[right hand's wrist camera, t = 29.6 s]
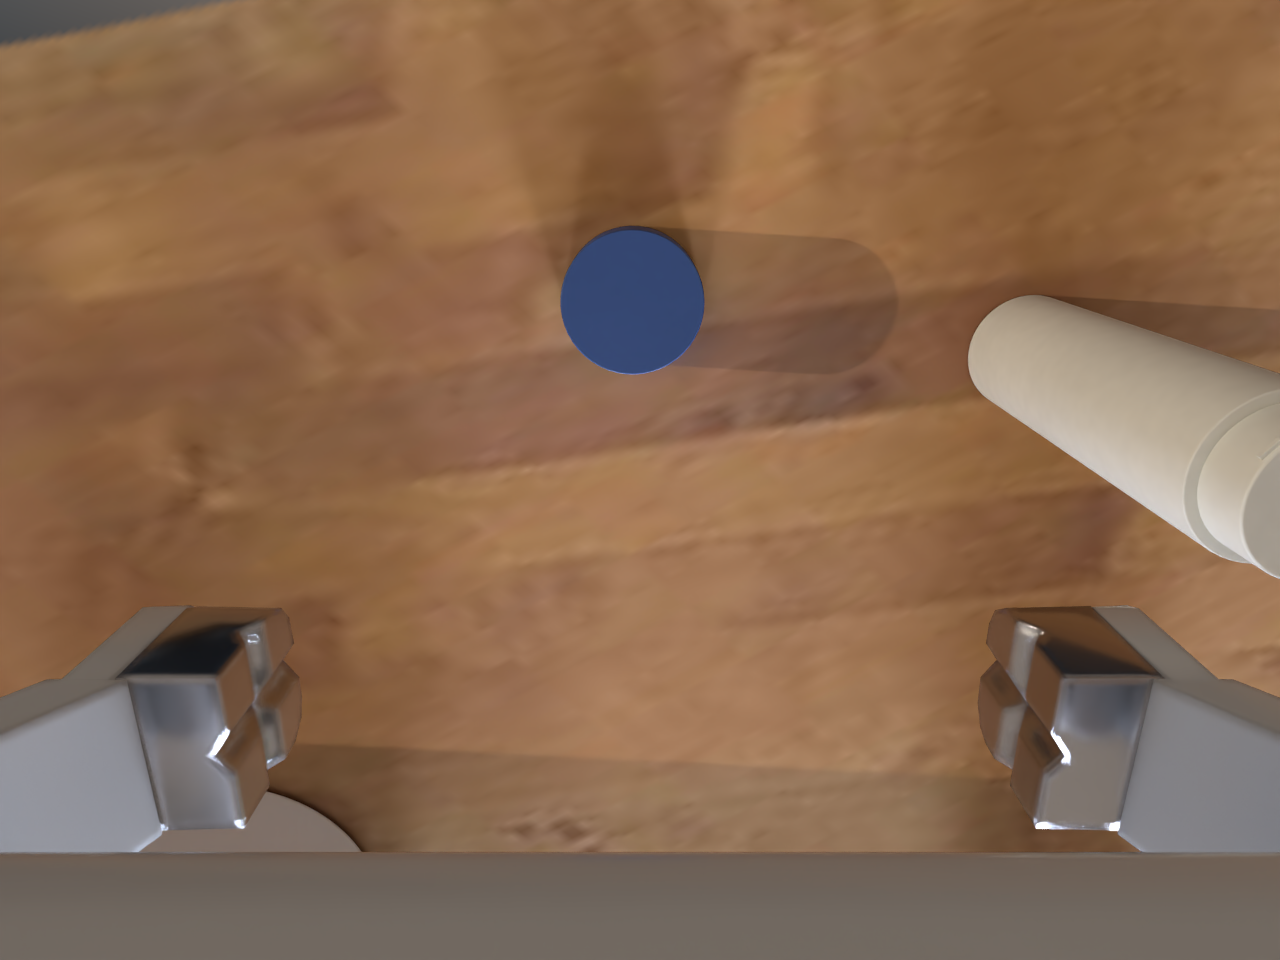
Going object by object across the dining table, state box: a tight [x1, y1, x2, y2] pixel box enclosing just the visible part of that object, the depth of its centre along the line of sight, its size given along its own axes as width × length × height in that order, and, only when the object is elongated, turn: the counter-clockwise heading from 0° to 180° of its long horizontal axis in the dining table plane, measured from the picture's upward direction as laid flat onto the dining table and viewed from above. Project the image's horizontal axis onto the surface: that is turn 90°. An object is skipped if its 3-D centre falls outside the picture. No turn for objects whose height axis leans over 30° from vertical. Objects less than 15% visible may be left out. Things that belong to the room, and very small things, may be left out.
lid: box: [561, 226, 704, 374], centre depth 36 cm, size 6×6×2 cm
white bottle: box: [968, 295, 1280, 579], centre depth 30 cm, size 5×5×18 cm
